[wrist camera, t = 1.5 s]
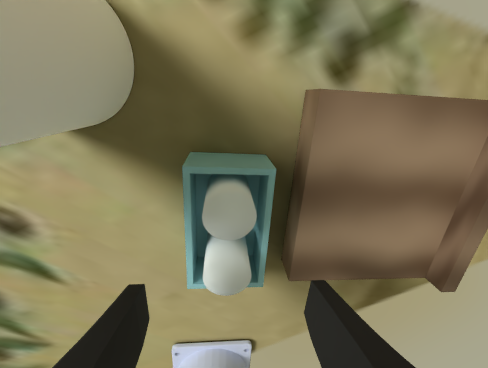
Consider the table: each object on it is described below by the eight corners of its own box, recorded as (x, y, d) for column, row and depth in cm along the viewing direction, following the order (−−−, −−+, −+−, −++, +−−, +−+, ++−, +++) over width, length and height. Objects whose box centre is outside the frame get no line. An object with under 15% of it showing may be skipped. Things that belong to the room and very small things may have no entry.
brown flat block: (414, 257, 21) (454, 291, 18) (281, 259, 20) (294, 296, 16) (477, 101, 16) (552, 103, 13) (305, 89, 15) (332, 88, 11)
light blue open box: (256, 255, 20) (266, 304, 15) (193, 256, 19) (184, 307, 15) (265, 154, 16) (282, 177, 12) (190, 151, 16) (177, 175, 11)
